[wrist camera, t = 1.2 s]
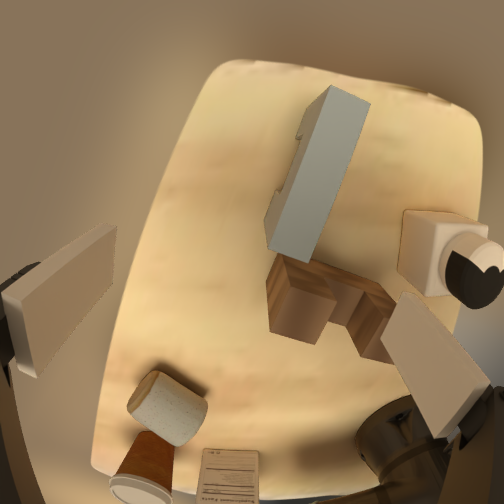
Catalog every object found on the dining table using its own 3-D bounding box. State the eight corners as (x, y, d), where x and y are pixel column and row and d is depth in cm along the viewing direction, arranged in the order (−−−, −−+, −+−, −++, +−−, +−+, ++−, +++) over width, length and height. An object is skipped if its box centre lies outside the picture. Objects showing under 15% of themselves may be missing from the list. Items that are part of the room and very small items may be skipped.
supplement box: (257, 476, 43) (257, 546, 29) (207, 474, 43) (198, 543, 29) (260, 450, 41) (260, 530, 26) (202, 447, 41) (190, 525, 26)
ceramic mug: (160, 356, 35) (141, 397, 28) (212, 390, 37) (204, 434, 30) (125, 395, 38) (107, 432, 31) (171, 424, 40) (160, 463, 32)
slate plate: (334, 120, 28) (370, 103, 18) (291, 230, 31) (308, 263, 21) (306, 108, 27) (330, 84, 18) (263, 220, 31) (267, 248, 21)
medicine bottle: (444, 270, 32) (504, 314, 20) (395, 272, 32) (450, 323, 21) (452, 212, 30) (522, 238, 18) (402, 209, 30) (469, 236, 18)
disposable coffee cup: (193, 457, 42) (182, 515, 30) (144, 458, 43) (128, 510, 31) (169, 423, 39) (151, 486, 28) (118, 424, 40) (93, 479, 29)
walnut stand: (378, 283, 32) (417, 327, 23) (362, 313, 33) (394, 364, 24) (279, 247, 31) (290, 286, 22) (265, 281, 32) (269, 331, 23)
